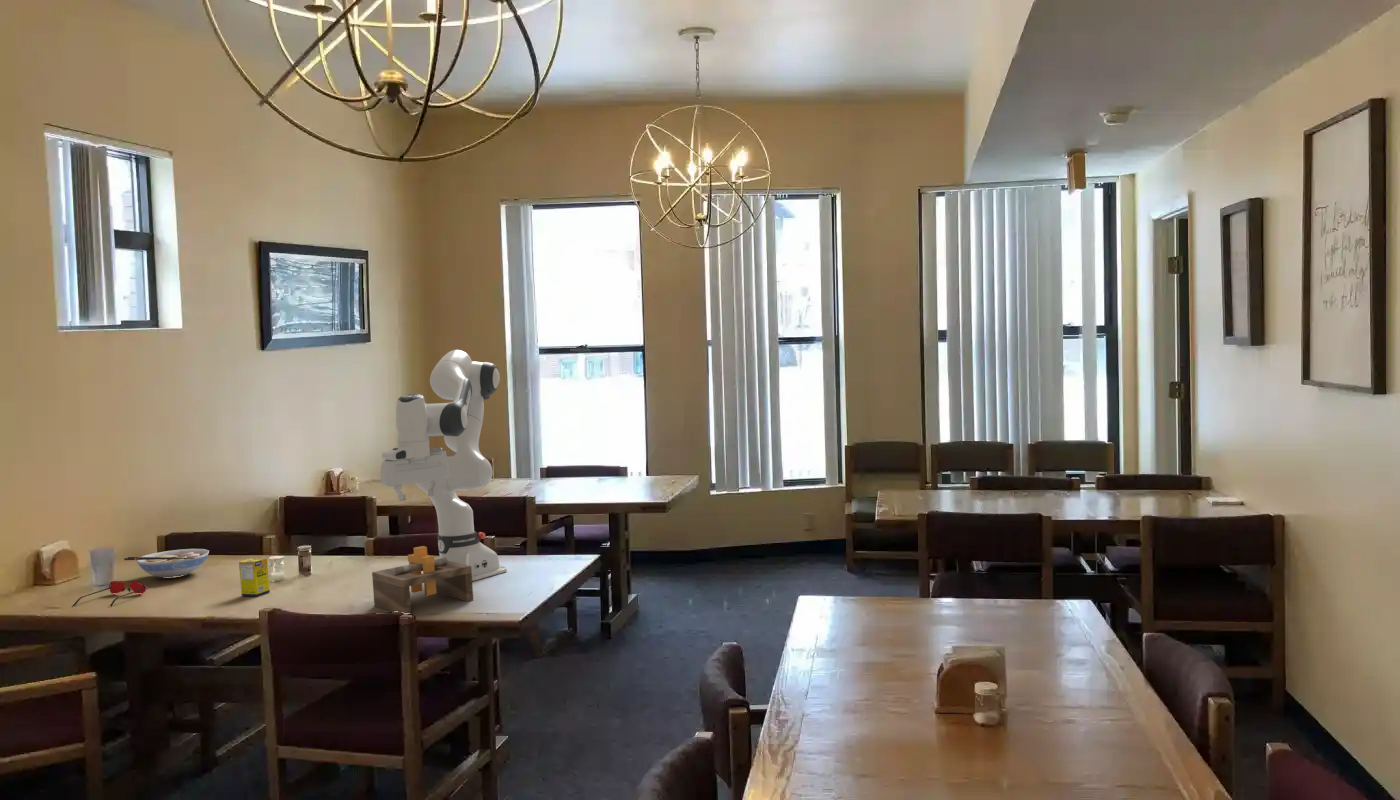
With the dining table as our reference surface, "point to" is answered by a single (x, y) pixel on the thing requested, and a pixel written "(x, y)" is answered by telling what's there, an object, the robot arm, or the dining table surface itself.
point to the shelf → (396, 581)
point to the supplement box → (254, 577)
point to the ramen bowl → (172, 562)
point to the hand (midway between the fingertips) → (417, 498)
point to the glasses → (121, 589)
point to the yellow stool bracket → (428, 566)
